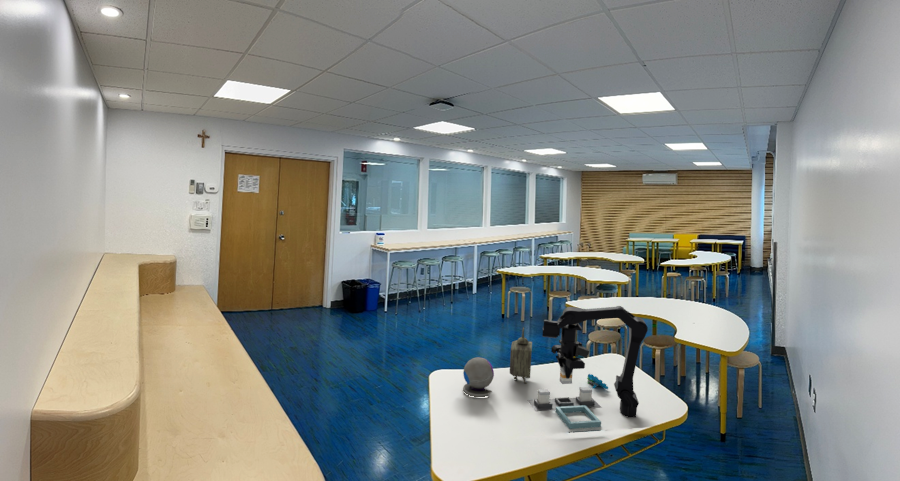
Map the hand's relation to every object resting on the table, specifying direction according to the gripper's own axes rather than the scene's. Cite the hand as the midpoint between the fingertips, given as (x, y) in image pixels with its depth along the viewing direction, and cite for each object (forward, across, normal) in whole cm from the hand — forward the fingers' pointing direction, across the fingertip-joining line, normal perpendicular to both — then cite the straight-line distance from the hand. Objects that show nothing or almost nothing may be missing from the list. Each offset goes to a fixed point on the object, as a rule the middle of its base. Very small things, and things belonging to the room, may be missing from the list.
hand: (566, 376), depth 177 cm
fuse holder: (+13, 0, 0) cm, 13 cm away
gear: (+13, +14, -21) cm, 29 cm away
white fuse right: (+12, 0, -9) cm, 15 cm away
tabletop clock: (+13, +26, +10) cm, 31 cm away
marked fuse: (+2, 0, 0) cm, 2 cm away
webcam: (+13, +17, +32) cm, 39 cm away
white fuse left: (+12, 0, +9) cm, 15 cm away
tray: (+13, -12, 0) cm, 18 cm away
